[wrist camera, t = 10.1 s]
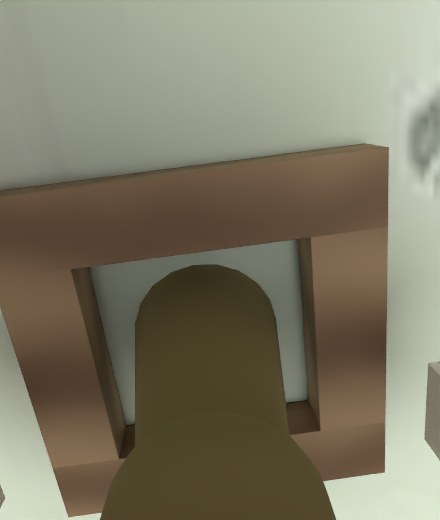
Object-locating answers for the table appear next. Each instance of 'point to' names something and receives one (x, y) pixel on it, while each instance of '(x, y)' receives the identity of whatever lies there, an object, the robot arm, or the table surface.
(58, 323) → the socket plate
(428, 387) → the robot arm
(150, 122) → the table surface
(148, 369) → the cork
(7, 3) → the table surface
